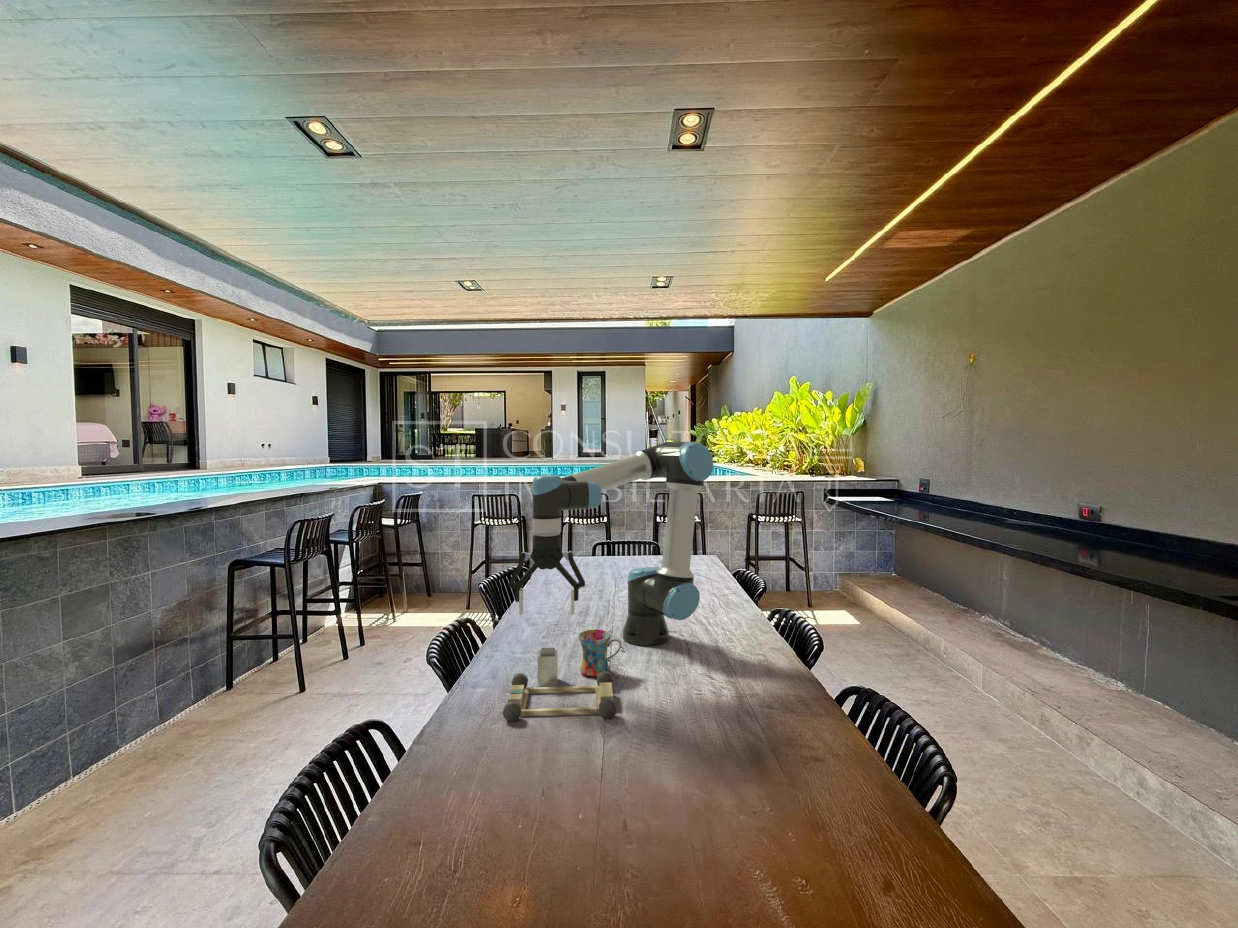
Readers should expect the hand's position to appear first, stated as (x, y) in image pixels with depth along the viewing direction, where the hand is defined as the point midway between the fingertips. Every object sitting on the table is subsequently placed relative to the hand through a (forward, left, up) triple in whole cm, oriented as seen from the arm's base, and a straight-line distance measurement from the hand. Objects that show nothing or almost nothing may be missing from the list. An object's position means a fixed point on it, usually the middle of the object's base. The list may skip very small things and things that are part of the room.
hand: (547, 613), depth 150 cm
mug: (-14, -6, -19) cm, 24 cm away
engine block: (0, 0, -19) cm, 19 cm away
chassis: (-4, +12, -19) cm, 23 cm away
